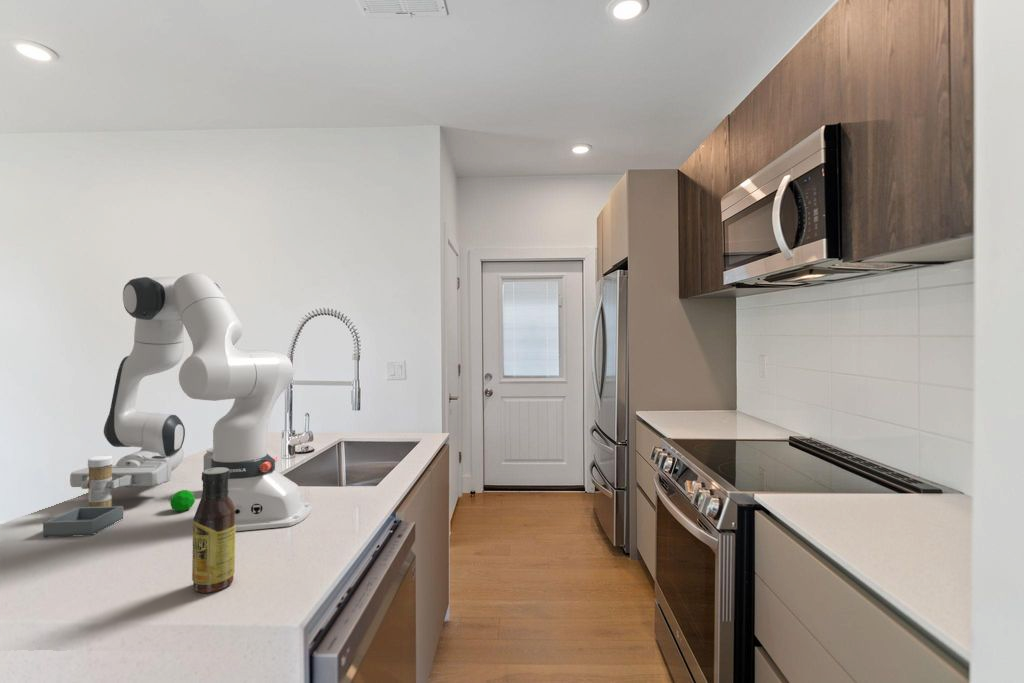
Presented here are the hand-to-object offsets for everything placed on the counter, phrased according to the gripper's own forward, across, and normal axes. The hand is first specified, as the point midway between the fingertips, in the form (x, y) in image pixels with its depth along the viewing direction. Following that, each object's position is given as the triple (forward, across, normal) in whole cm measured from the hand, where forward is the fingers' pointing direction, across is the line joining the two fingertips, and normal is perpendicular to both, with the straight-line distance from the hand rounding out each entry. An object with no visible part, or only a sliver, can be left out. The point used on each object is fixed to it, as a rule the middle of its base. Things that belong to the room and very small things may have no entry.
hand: (97, 485), depth 118 cm
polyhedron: (-2, +18, +7) cm, 20 cm away
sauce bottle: (+37, +44, +7) cm, 58 cm away
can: (-16, +20, +7) cm, 27 cm away
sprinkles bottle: (-1, 0, +7) cm, 7 cm away
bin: (+8, +3, +7) cm, 11 cm away
